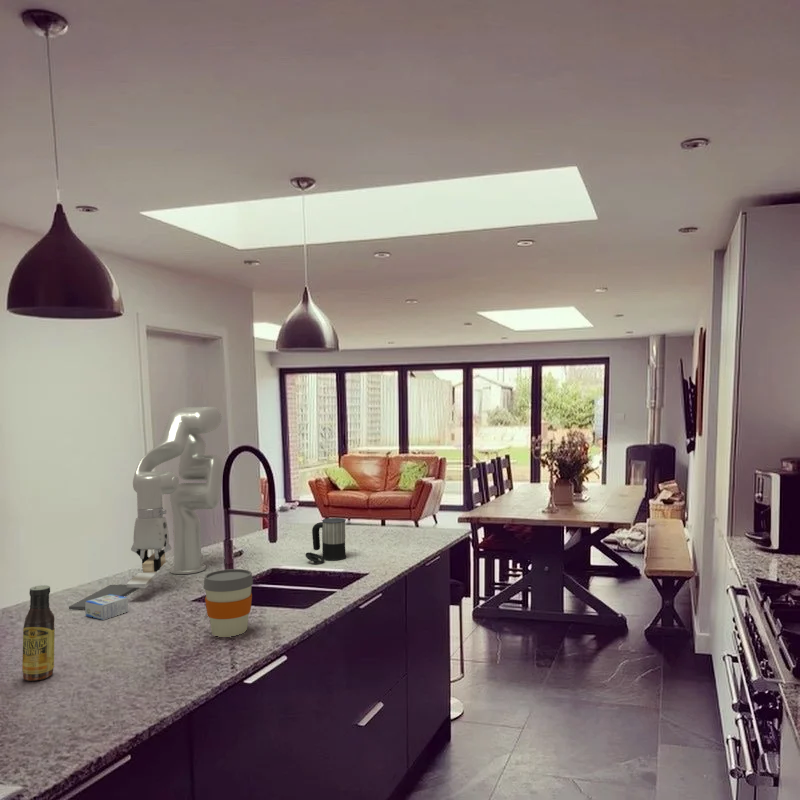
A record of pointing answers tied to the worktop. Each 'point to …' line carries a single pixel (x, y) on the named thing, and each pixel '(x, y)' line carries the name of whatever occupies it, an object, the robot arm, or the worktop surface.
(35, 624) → the sauce bottle
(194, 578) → the worktop surface
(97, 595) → the mat
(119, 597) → the medicine box
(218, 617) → the reusable coffee cup
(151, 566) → the beige curved piece
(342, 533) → the milk frother
